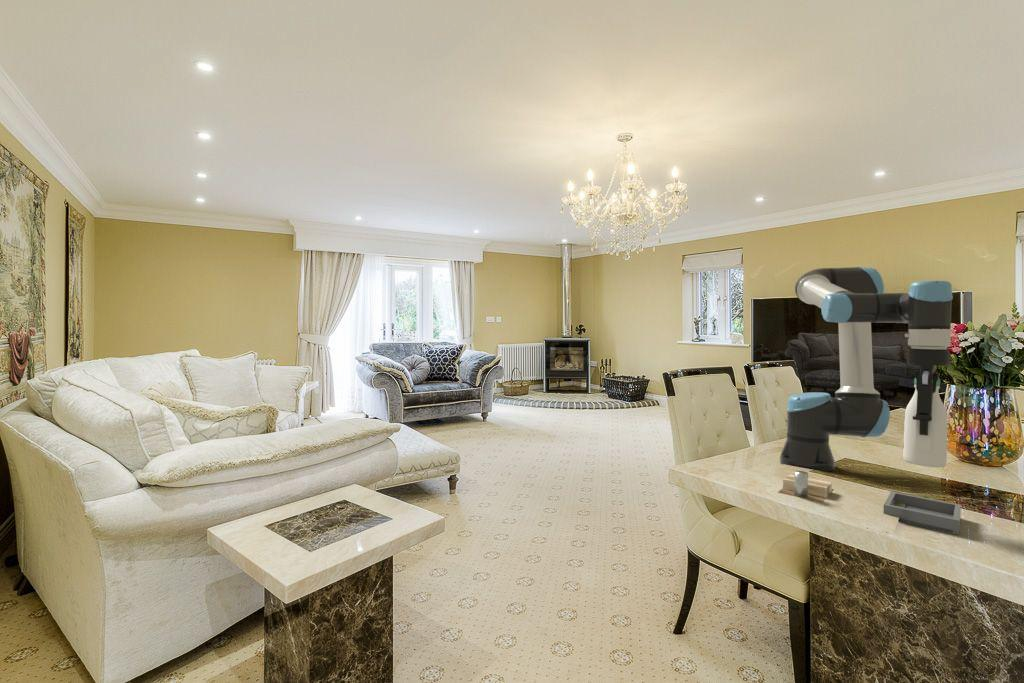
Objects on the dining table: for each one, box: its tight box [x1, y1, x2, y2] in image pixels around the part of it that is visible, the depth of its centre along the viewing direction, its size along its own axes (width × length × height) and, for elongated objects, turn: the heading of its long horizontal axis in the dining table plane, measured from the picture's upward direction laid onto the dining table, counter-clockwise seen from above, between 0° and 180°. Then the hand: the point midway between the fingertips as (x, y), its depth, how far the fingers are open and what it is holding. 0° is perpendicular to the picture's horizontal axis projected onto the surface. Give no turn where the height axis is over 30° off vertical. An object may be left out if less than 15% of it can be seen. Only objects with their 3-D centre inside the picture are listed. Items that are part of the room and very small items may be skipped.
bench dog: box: [794, 470, 809, 499], centre depth 125 cm, size 3×3×6 cm
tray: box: [882, 491, 962, 536], centre depth 114 cm, size 13×13×3 cm
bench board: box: [777, 487, 835, 503], centre depth 129 cm, size 14×10×1 cm
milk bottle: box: [902, 377, 949, 468], centre depth 113 cm, size 8×8×20 cm
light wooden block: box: [782, 474, 833, 499], centre depth 129 cm, size 6×10×2 cm, turn 46°
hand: (924, 445), depth 113 cm, fingers closed on milk bottle, 7 cm apart
